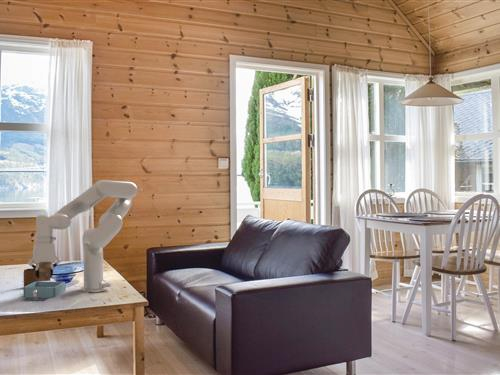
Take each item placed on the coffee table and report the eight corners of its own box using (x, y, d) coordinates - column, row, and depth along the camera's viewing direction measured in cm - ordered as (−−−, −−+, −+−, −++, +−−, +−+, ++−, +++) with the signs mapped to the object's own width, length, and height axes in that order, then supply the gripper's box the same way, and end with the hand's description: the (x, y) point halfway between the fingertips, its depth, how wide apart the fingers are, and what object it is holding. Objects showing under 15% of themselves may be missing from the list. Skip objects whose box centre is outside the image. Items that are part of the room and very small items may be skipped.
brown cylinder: (48, 278, 248) (49, 260, 248) (50, 280, 244) (50, 262, 244) (37, 279, 246) (38, 261, 246) (39, 281, 242) (39, 262, 241)
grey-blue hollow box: (50, 299, 238) (50, 288, 238) (43, 303, 231) (43, 292, 231) (26, 299, 238) (26, 288, 238) (19, 303, 231) (19, 291, 231)
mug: (46, 284, 271) (46, 266, 270) (49, 287, 264) (49, 269, 264) (22, 287, 264) (22, 269, 264) (24, 289, 258) (24, 271, 257)
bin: (65, 292, 252) (65, 281, 252) (55, 299, 239) (55, 287, 239) (35, 292, 252) (35, 281, 252) (23, 298, 239) (23, 287, 239)
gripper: (61, 238, 252) (61, 274, 252) (24, 240, 244) (24, 277, 244) (64, 240, 245) (64, 277, 246) (26, 241, 237) (25, 280, 238)
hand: (44, 277), depth 245 cm, fingers closed on brown cylinder, 5 cm apart
